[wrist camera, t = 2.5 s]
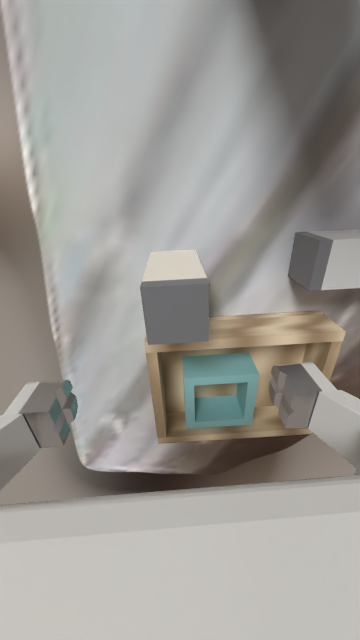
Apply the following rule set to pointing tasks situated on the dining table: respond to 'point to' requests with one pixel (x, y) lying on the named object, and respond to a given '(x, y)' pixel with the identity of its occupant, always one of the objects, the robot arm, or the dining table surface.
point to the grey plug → (326, 260)
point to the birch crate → (265, 350)
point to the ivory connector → (175, 298)
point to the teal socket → (220, 407)
